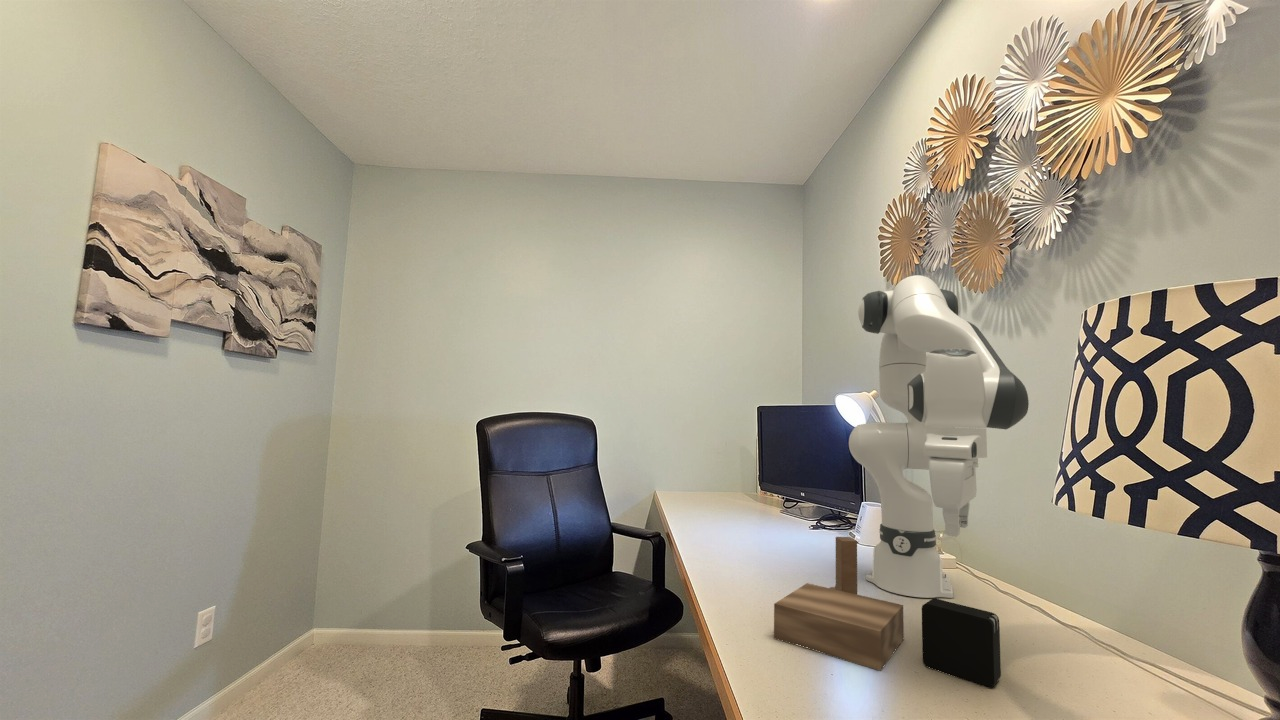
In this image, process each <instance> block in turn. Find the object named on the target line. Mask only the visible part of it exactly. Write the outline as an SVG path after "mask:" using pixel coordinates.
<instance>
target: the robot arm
mask: <svg viewBox="0 0 1280 720" xmlns="http://www.w3.org/2000/svg"><path fill="white" fill-rule="evenodd" d="M960 310H961V309H960V303H959V301H958V297H957V295H956V294H955V293H954V292H953V291H952V290H948V289H941V288H939V285H937V284H936V282H935V281H934V280H932V279H931V278H930V277H927V276H925V275H917V274H916V275H915V274H913V275H910V276H908V277H904V278H903V279H902V280H900V281H899V282H897V284H896V285H895V286H894V288H893V289H891V290H884V291H882V290H876V291H872V292H868V293H867V294H865V295H864V296H863V297H862V299H861V302H860V304H859V307H858V320H859V322H860V325H861V328H862V329H863V330H864V332H867V333H872V334H876V335H877V334H880V333H881V334H883V336H882V338H881V343H880V349H879V359H878V360H879V361H878V363H879V364H878V369H879V371H878V372H879V374H878V375H879V376H878V378H879V397H880V399H881V401H882V402H883V403H884V404H885V405H887V406H888V407H889V408H892V409H894V410H896V411H898V412H900V413H902V414H903V415H904V417H906V419H907V422H885V421H884V422H868V423H863V424H857V425H856V426H855V427H854V428H853V429H852V431H851V432H850V435H849V438H848V448H849V449H848V450H849V452H850V454H851V456H852V457H853V459H854V460H855V461H856V462H857V463H858V464H860V465H861V466H862V467H863V468H865V470H866V471H867V472H868V473H869V474H870V475H871V477H872V479H873V480H874V482H875V484H876V486H877V489H878V493H879V499H880V507H881V508H880V509H881V523H880V525H879V531H878V532H879V539H880V541H879V543H878V544H876V545H875V546H874V547H873V555H872V558H873V559H872V573H869V574H866V577H865V580H866V581H868V582H870V583H873V584H874V585H876V586H877V587H878V588H881V589H882V590H883V591H886V592H887V591H888V592H890V593H893V594H897V595H901V596H908V597H912V598H913V597H914V598H922V599H923V598H927V599H929V598H930V599H934V598H950V599H951V598H952V599H953V598H955V596H954V590H953V587H952V582H951V579H950V577H949V576H947V574H946V572H944V571H943V559H942V557H941V556H940V554H939V552H938V550H937V548H936V545H937V535H936V531H935V529H934V509H933V504H934V507H936V508H941V509H942V515H943V521H944V527H945V529H944V530H945V531H944V532H945V535H947V536H949V537H955V538H956V537H959V536H960V533H961V531H960V530H961V529H960V528H964V529H966V528H967V527H968V526H969V512H970V506H971V505H970V502H971V501H972V500H973V499H974V498H975V497H976V496H977V473H976V471H977V470H976V469H977V468H978V467H979V458H982V459H986V458H988V443H987V439H988V437H987V428H990V429H998V430H1008V429H1010V428H1012V427H1014V426H1015V425H1017V424H1018V423H1019V422H1021V421H1022V420H1023V419H1024V418H1025V417H1026V415H1027V414H1028V411H1029V406H1030V405H1029V403H1030V402H1029V401H1030V400H1029V396H1028V391H1027V388H1026V387H1025V384H1024V383H1023V381H1021V379H1019V377H1018V376H1017V375H1016V374H1014V373H1013V372H1012V371H1011V370H1010V369H1009V368H1008V367H1007V365H1006V364H1005V363H1004V362H1003V360H1002V359H1001V357H1000V356H999V355H998V353H997V352H996V350H995V349H994V347H993V346H992V345H991V343H990V342H989V340H987V338H986V336H985V335H984V334H983V333H982V331H981V330H980V329H979V328H978V326H977V325H976V324H973V323H971V322H970V321H967V320H966V319H964V318H962V317H960ZM907 469H909V470H924V471H928V473H929V480H930V481H929V483H930V492H931V495H930V493H929V492H928V491H927V490H926V489H924V488H923V487H921V486H919V485H918V484H916V483H914V482H912V481H910V480H908V479H906V478H905V476H904V473H903V470H907Z"/></svg>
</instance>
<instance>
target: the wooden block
mask: <svg viewBox="0 0 1280 720" xmlns="http://www.w3.org/2000/svg"><path fill="white" fill-rule="evenodd" d="M829 588H830V589H835V590H839V591H844V592H848V593H852V594H857V595H858V540H857V539H855V538H853V537H851V536H836V537H835V586H834V587H833V586H830V587H829Z"/></svg>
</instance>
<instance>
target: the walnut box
mask: <svg viewBox="0 0 1280 720" xmlns="http://www.w3.org/2000/svg"><path fill="white" fill-rule="evenodd" d="M773 612H774V613H773V639H774V638H776V639H775V640H777V639H779V641H781V640H783V641H782V642H784V641H787V642H790V643H789V644H791V643H794V644H798V645H801V646H804V647H808V648H810V649H814V650H817V651H820V652H823V653H825V654H824V655H827V654H828V656H830V655H831V656H830V657H833V656H834V658H837V657H838V658H837V659H840V658H841V660H843V659H844V661H846V660H847V662H850V661H851V663H853V664H857V665H860V666H863V667H866V668H869V667H870V669H873V670H876V669H877V670H876V671H879V670H880V672H881V671H882V670H883V669H884V667H885V666H886V664H887V663H888V662H887V661H889V660H890V659H889V658H891V657H892V656H893V655H892V654H894V653H895V652H896V651H895V649H896V648H897V647H898V648H899V646H900V645H901V644H900V642H901V641H902V640H903V638H905V637H904V635H905V634H904V633H905V631H904V629H905V628H904V605H903V604H900V603H896V602H891V601H887V600H882V599H877V598H873V597H871V596H870V597H868V596H865V595H861V594H858V593H857V594H852V593H848V592H844V591H839V590H835V589H830V587H826V586H821V585H817V584H812V583H808V582H807V583H805V584H803V585H802V586H801V587H798V588H797V589H795V590H793V591H792V592H791V593H789V594H787V595H786V596H784V597H782V598H781V599H779V600H778V601H776V602H774V603H773ZM903 641H904V640H903ZM903 641H902V642H903ZM787 642H786V643H787ZM902 642H901V643H902ZM794 644H793V645H794ZM899 644H900V645H899ZM898 645H899V646H898ZM804 647H803V648H804ZM898 648H897V649H898ZM810 649H809V650H810ZM897 649H896V650H897ZM814 650H813V651H814ZM817 651H816V652H817ZM894 651H895V652H894ZM820 652H819V653H820ZM893 652H894V653H893ZM823 653H822V654H823ZM891 655H892V656H891ZM888 659H889V660H888ZM886 662H887V663H886ZM884 665H885V666H884ZM883 666H884V667H883ZM881 669H882V670H881Z"/></svg>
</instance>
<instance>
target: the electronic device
mask: <svg viewBox="0 0 1280 720" xmlns="http://www.w3.org/2000/svg"><path fill="white" fill-rule="evenodd" d="M1000 630H1001V629H1000V619H999V617H998V615H997V614H996V613H994V612H992V611H987V610H984V609H979V608H975V607H972V606H968V605H963V604H959V603H955V602H952V601H948V600H947V601H946V600H942V599H939V598H930V600H928V601H927V602H925V603H924V604H922V606H921V640H922V641H921V643H922V644H921V647H922V649H921V650H922V654H921V655H922V664H923V665H924V666H925V667H926V666H928V667H930V668H933V669H936V670H939V671H941V672H940V673H942V672H944V673H943V674H945V673H947V674H946V675H948V674H950V675H949V676H951V675H952V676H951V677H954V676H955V677H954V678H957V679H960V680H963V681H966V682H969V683H972V684H975V685H978V686H981V687H983V688H984V687H985V688H987V689H988V688H989V689H992V688H994V686H995V685H996V684H997V683H998V682H999V680H1000V679H1001V677H1002V668H1001V665H1002V664H1001V639H1000V638H1001V637H1000V636H1001V635H1000V634H1001V633H1000ZM928 667H927V668H928ZM930 668H929V669H930ZM933 669H932V670H933ZM936 670H935V671H936ZM939 671H938V672H939Z"/></svg>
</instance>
